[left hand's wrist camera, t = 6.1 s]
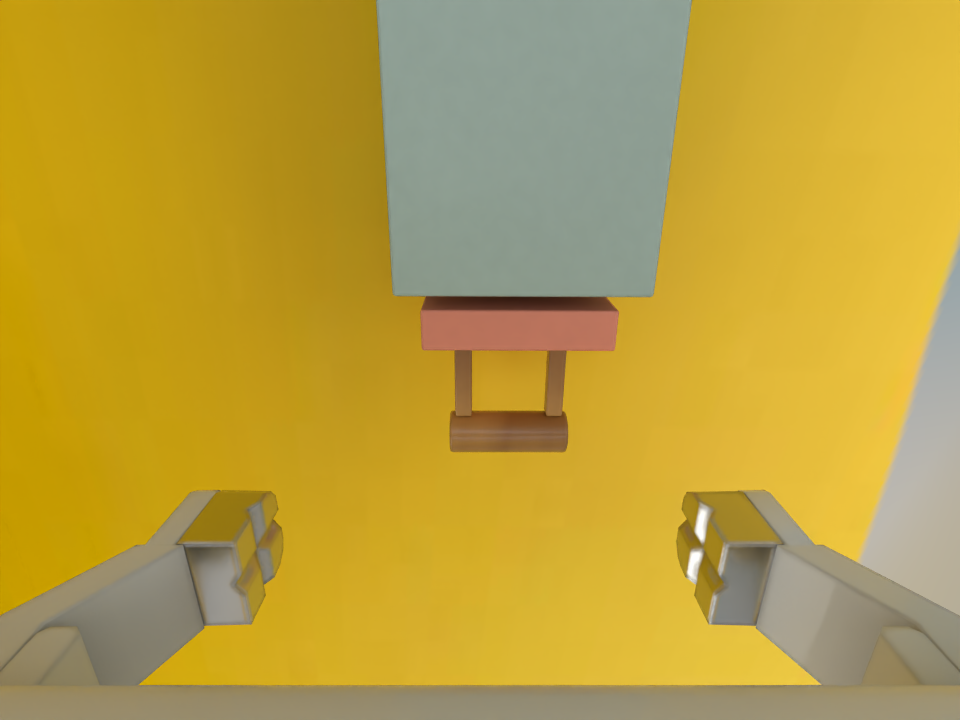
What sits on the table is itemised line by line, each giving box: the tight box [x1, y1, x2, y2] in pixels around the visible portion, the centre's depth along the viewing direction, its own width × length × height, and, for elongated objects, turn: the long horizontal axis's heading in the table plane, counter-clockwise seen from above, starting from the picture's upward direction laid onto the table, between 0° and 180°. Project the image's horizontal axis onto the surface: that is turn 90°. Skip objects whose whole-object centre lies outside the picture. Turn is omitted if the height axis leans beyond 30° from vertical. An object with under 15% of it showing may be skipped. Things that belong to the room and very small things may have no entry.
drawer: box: [421, 296, 619, 452], centre depth 16 cm, size 26×6×8 cm, turn 0°
